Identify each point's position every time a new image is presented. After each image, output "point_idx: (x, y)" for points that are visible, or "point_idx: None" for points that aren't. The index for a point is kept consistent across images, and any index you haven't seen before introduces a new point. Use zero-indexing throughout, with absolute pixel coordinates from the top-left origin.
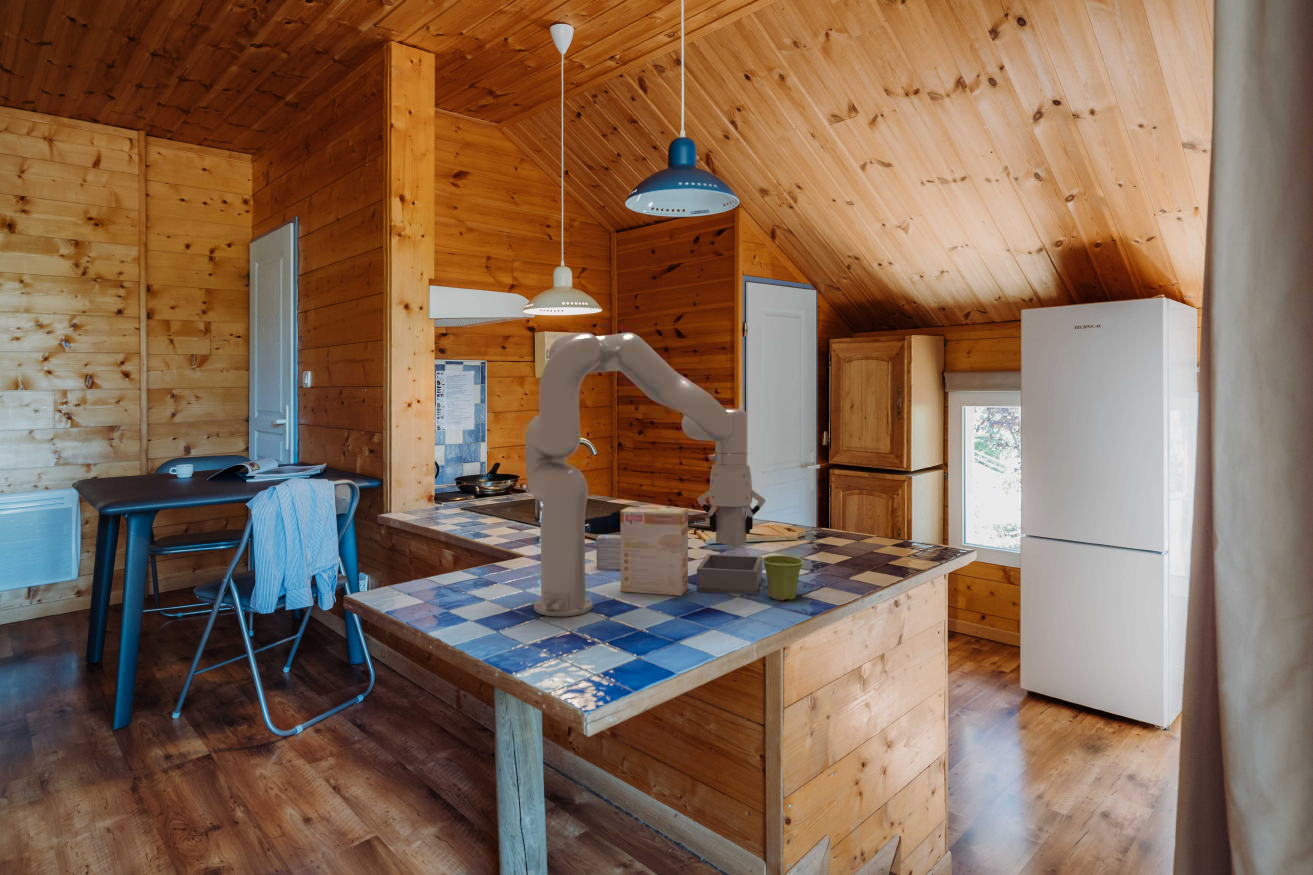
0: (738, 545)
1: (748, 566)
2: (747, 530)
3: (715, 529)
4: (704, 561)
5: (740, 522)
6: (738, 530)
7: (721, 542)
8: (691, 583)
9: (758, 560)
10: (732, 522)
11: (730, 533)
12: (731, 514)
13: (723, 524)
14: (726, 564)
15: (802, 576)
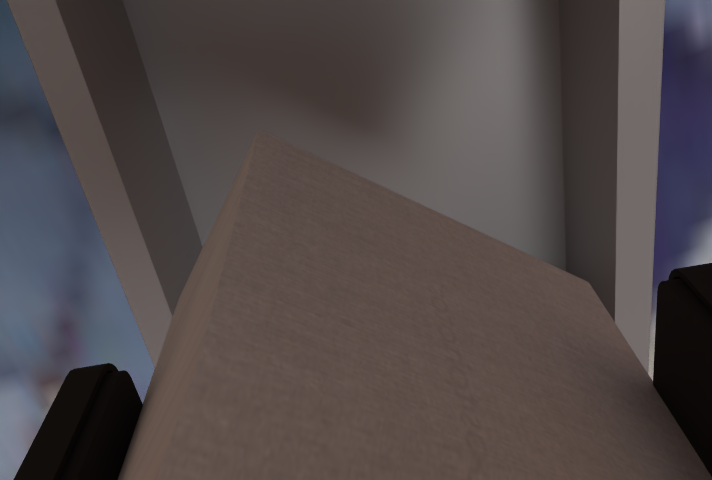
0: (236, 179)
1: None
2: (80, 392)
3: (668, 348)
4: (633, 125)
5: (145, 447)
6: (200, 295)
7: (507, 250)
8: (665, 30)
9: (163, 338)
10: (316, 379)
11: (364, 260)
12: None
13: (549, 417)
14: None
15: (9, 460)
